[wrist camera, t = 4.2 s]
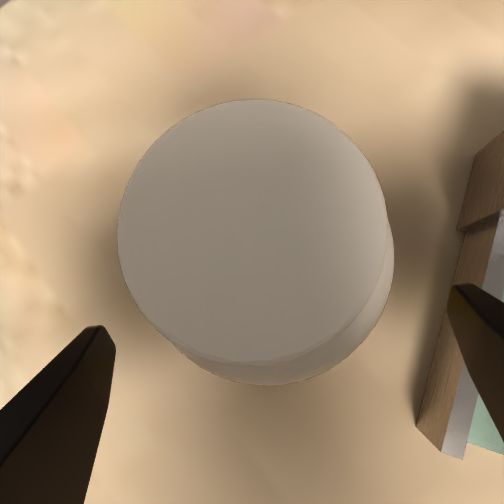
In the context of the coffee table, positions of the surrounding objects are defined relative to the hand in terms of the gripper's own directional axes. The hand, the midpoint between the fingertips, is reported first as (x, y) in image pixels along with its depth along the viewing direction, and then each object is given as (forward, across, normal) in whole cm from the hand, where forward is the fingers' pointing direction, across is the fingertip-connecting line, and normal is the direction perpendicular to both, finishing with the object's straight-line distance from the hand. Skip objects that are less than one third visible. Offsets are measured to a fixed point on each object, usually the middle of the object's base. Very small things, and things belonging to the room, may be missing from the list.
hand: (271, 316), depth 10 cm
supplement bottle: (+8, 0, +6) cm, 9 cm away
